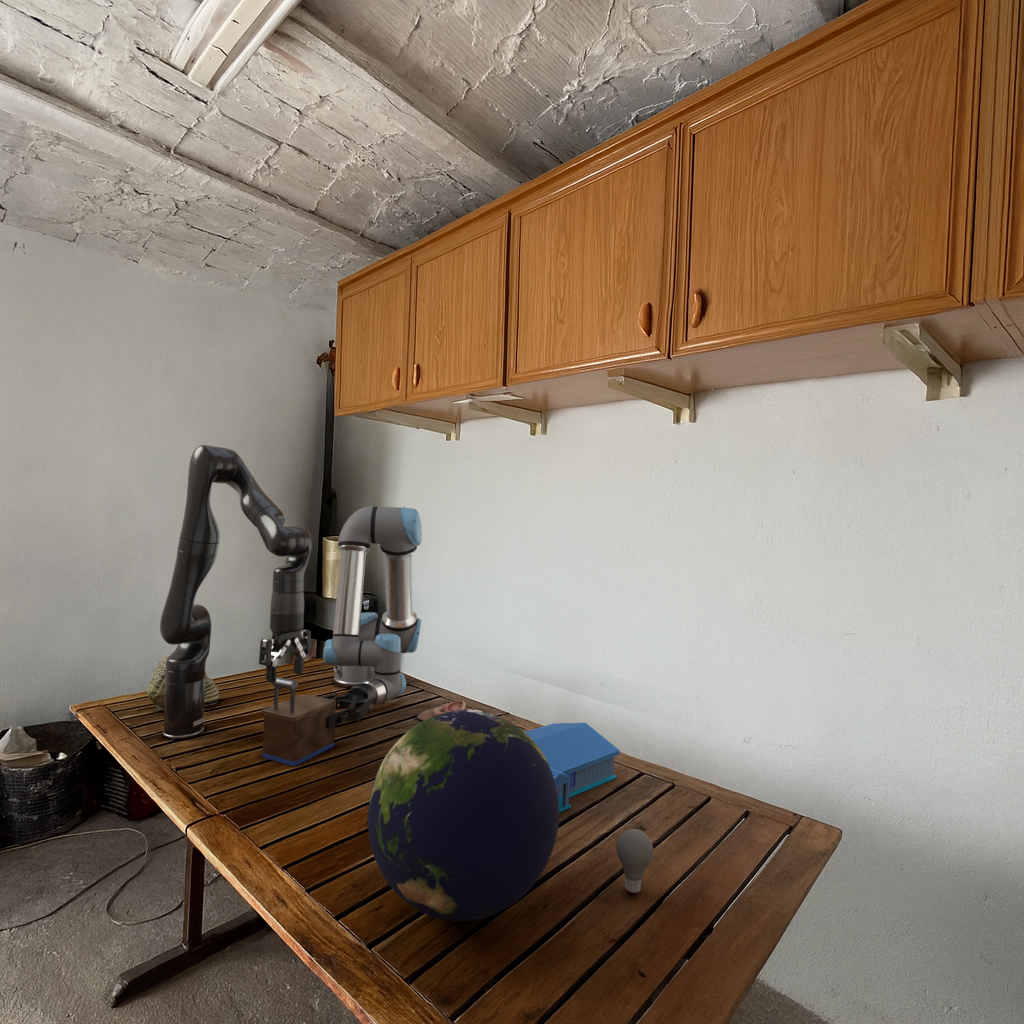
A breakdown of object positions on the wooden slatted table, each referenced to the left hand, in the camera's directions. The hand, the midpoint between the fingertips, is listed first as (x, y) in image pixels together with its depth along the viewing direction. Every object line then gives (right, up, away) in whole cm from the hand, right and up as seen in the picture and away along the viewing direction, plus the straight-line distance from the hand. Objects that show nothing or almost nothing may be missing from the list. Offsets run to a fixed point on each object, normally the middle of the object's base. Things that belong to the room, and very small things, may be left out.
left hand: (285, 677), depth 151 cm
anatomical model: (+33, -21, +34) cm, 52 cm away
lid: (+2, -9, +5) cm, 10 cm away
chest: (+1, -20, +5) cm, 20 cm away
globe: (+46, -23, -50) cm, 72 cm away
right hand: (+3, -13, +9) cm, 16 cm away
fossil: (-42, -17, +34) cm, 57 cm away
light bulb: (+74, -24, -45) cm, 90 cm away
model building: (+58, -23, -8) cm, 63 cm away
